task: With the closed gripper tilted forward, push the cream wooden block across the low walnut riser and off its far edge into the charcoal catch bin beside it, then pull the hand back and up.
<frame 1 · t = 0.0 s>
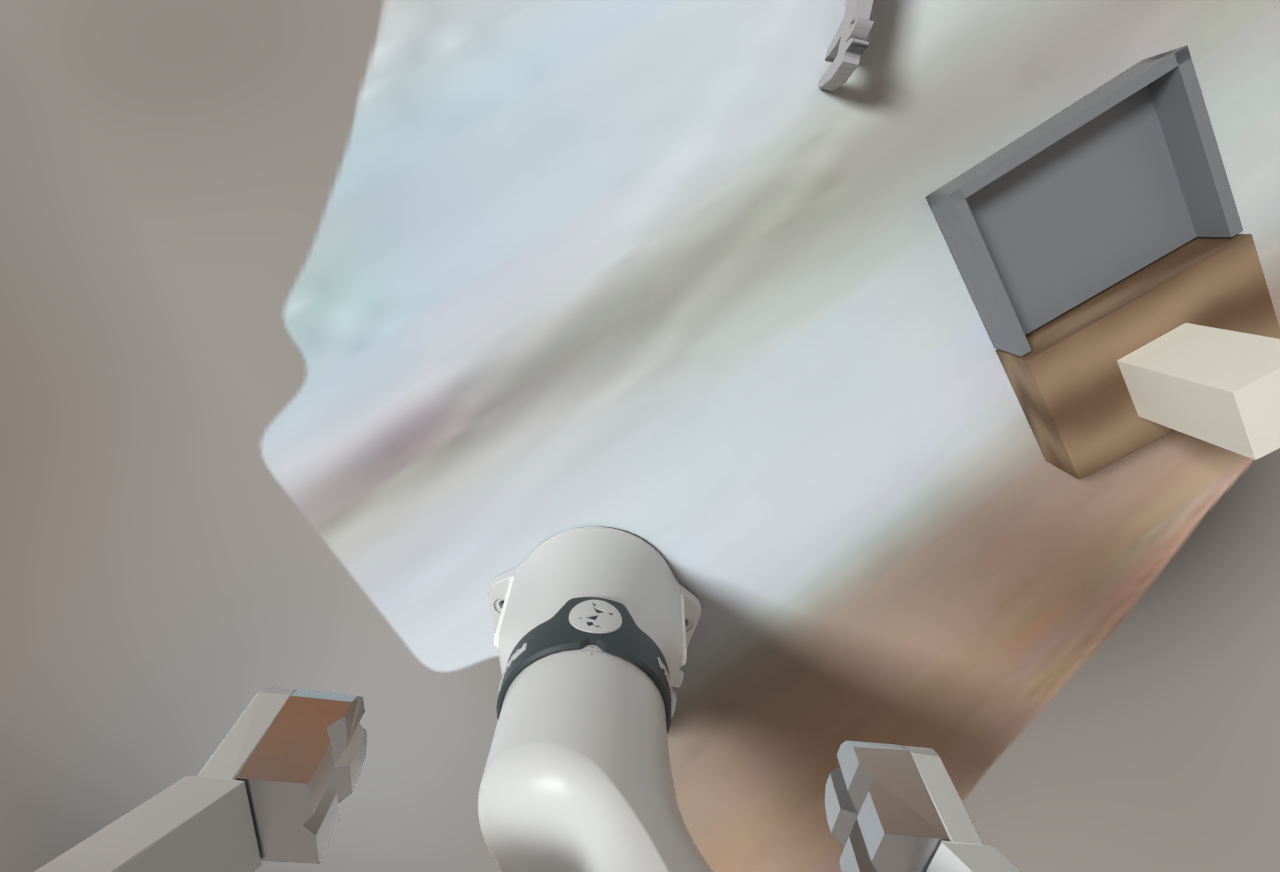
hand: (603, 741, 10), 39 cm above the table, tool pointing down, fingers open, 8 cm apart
block: (1161, 370, 44), point 4 cm above the table, touching riser
riser: (1118, 354, 48), on the table
catch bin: (1063, 213, 44), on the table
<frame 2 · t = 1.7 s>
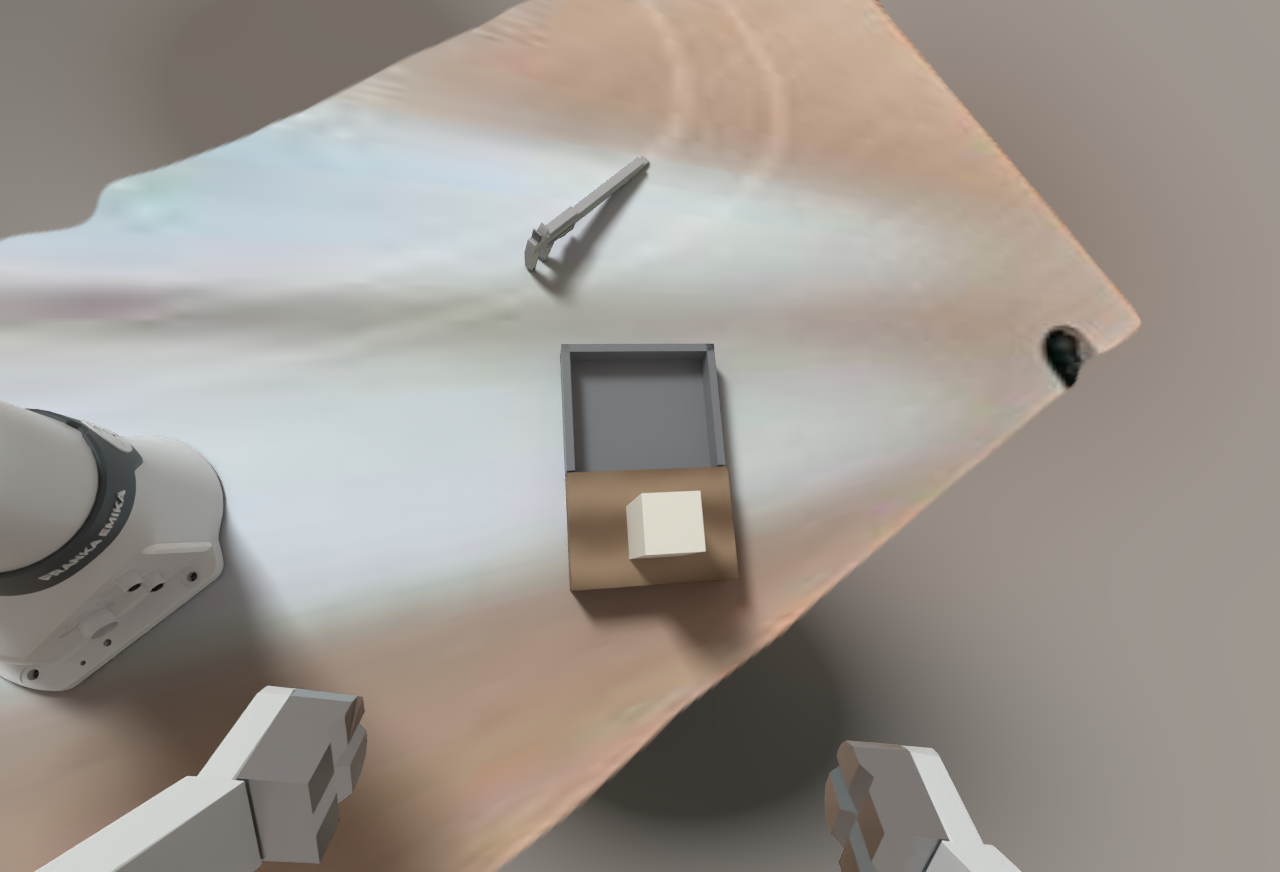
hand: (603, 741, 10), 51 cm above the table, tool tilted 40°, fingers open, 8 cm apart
block: (653, 531, 59), point 4 cm above the table, touching riser
riser: (646, 529, 62), on the table
caliper: (589, 215, 70), on the table
catch bin: (638, 413, 65), on the table
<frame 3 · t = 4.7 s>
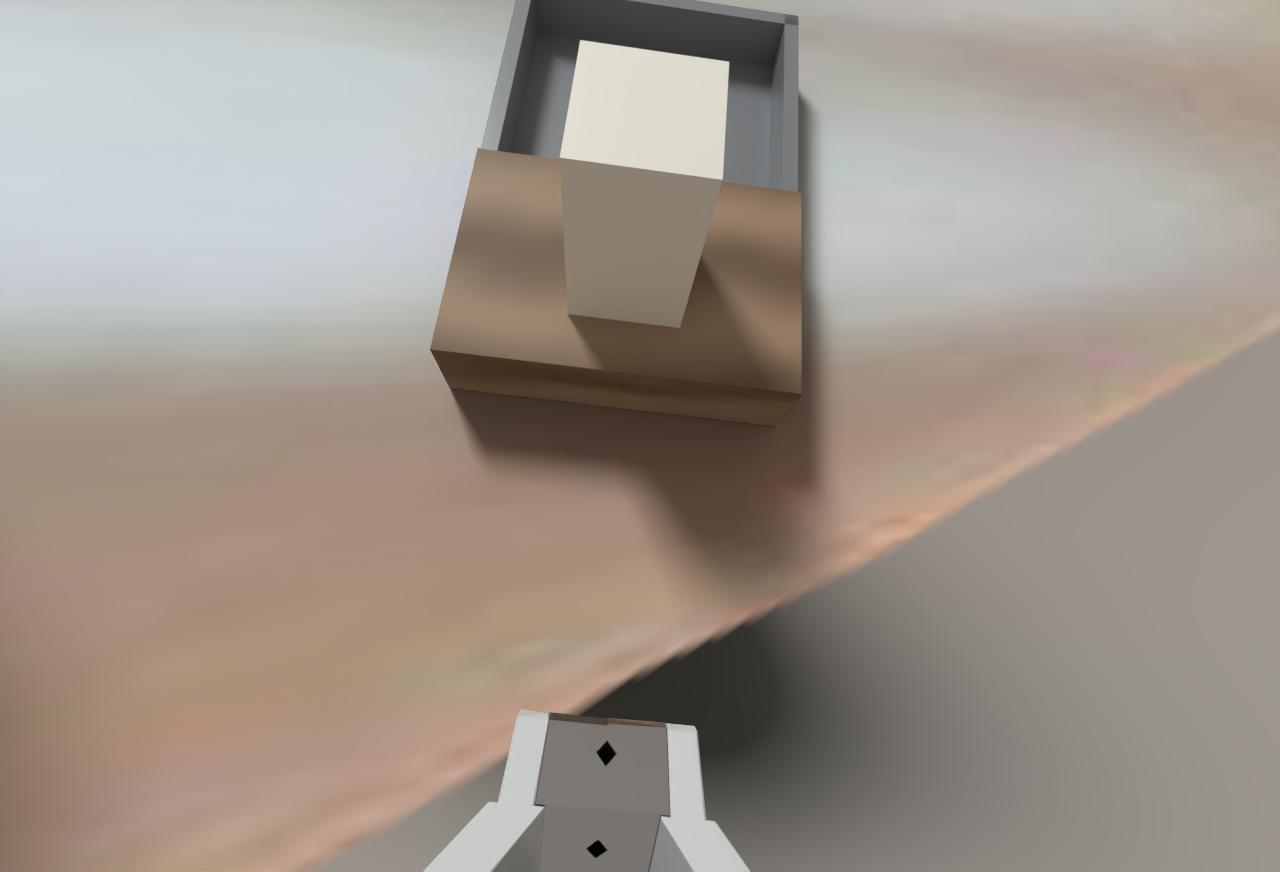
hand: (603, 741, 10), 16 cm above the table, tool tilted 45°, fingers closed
block: (629, 273, 28), point 4 cm above the table, touching riser
riser: (625, 310, 32), on the table
catch bin: (645, 131, 36), on the table
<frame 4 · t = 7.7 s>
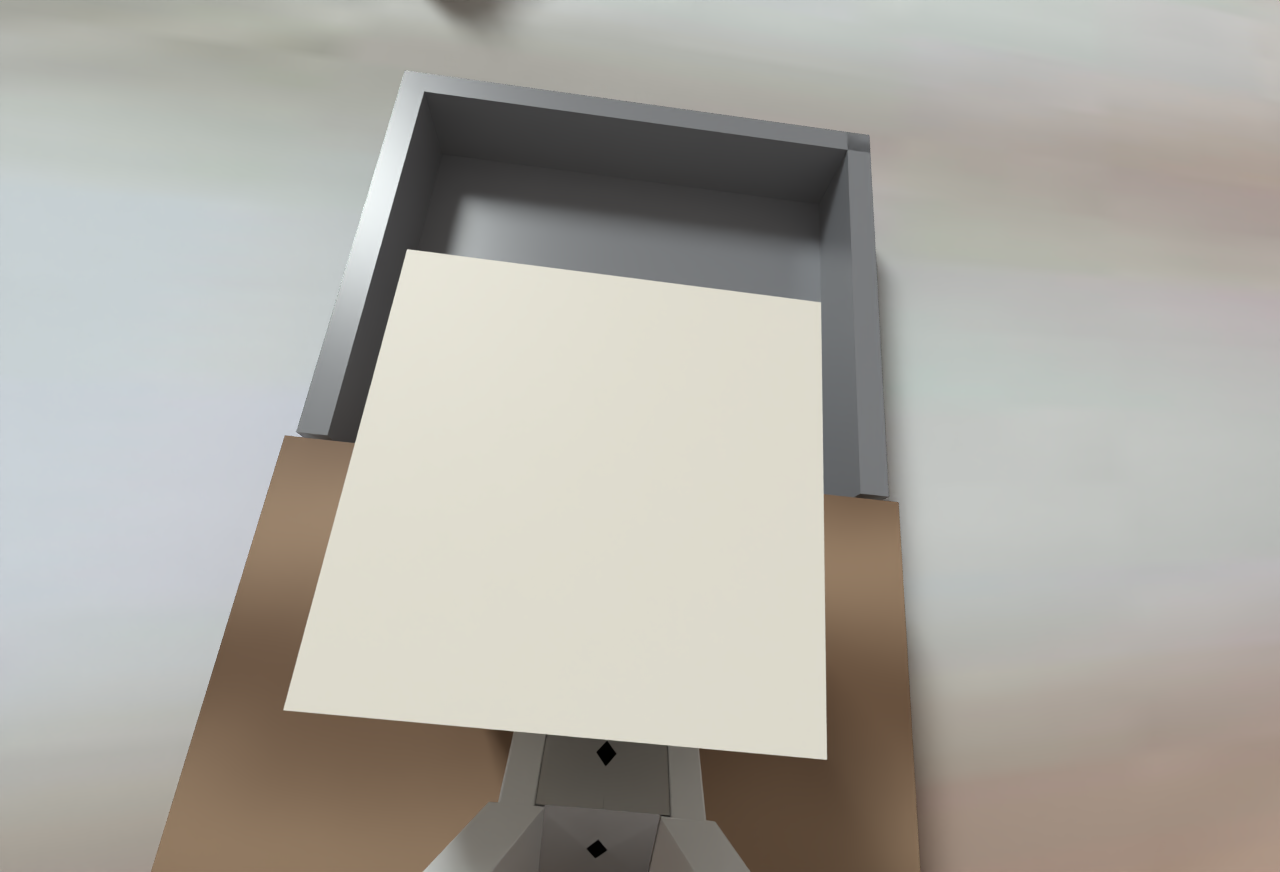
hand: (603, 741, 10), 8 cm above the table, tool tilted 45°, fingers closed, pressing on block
block: (588, 577, 15), point 4 cm above the table, touching gripper
riser: (575, 689, 18), on the table
catch bin: (617, 321, 22), on the table
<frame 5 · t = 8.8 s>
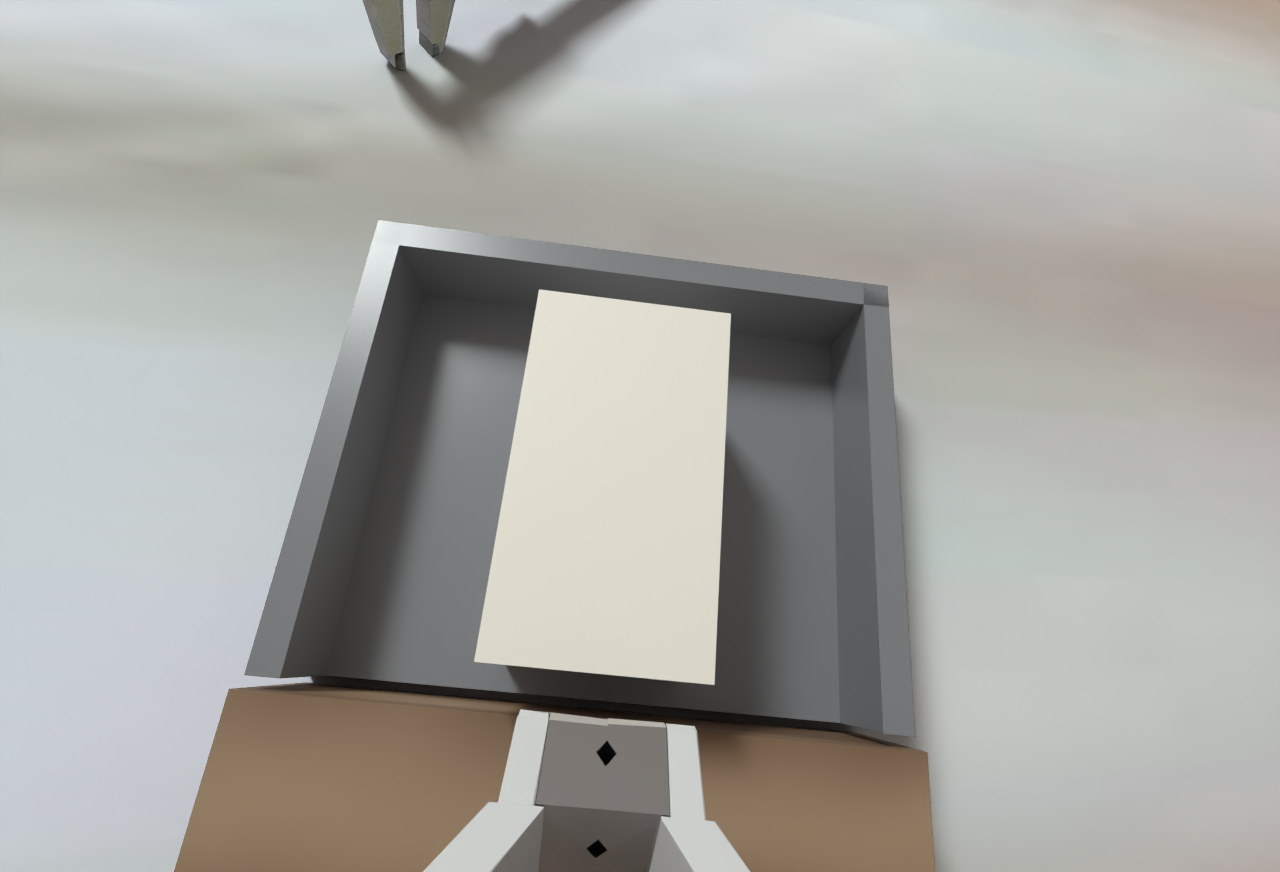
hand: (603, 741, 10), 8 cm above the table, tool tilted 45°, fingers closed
block: (593, 671, 15), point 3 cm above the table, tilted 90°, touching catch bin
catch bin: (611, 483, 20), on the table
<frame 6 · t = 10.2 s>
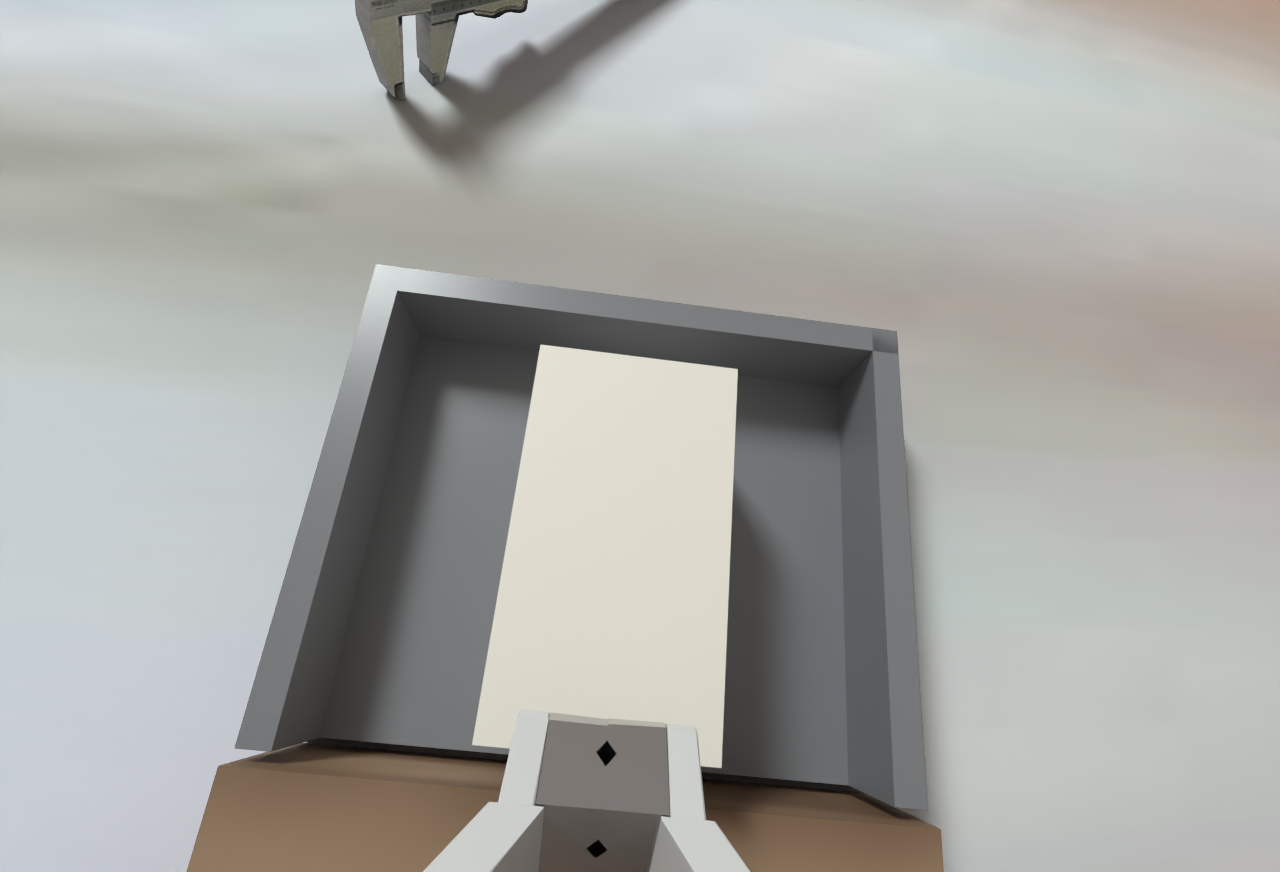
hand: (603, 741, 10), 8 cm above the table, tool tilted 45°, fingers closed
block: (595, 741, 15), point 3 cm above the table, tilted 90°, touching catch bin
caliper: (584, 12, 28), on the table
catch bin: (613, 531, 20), on the table
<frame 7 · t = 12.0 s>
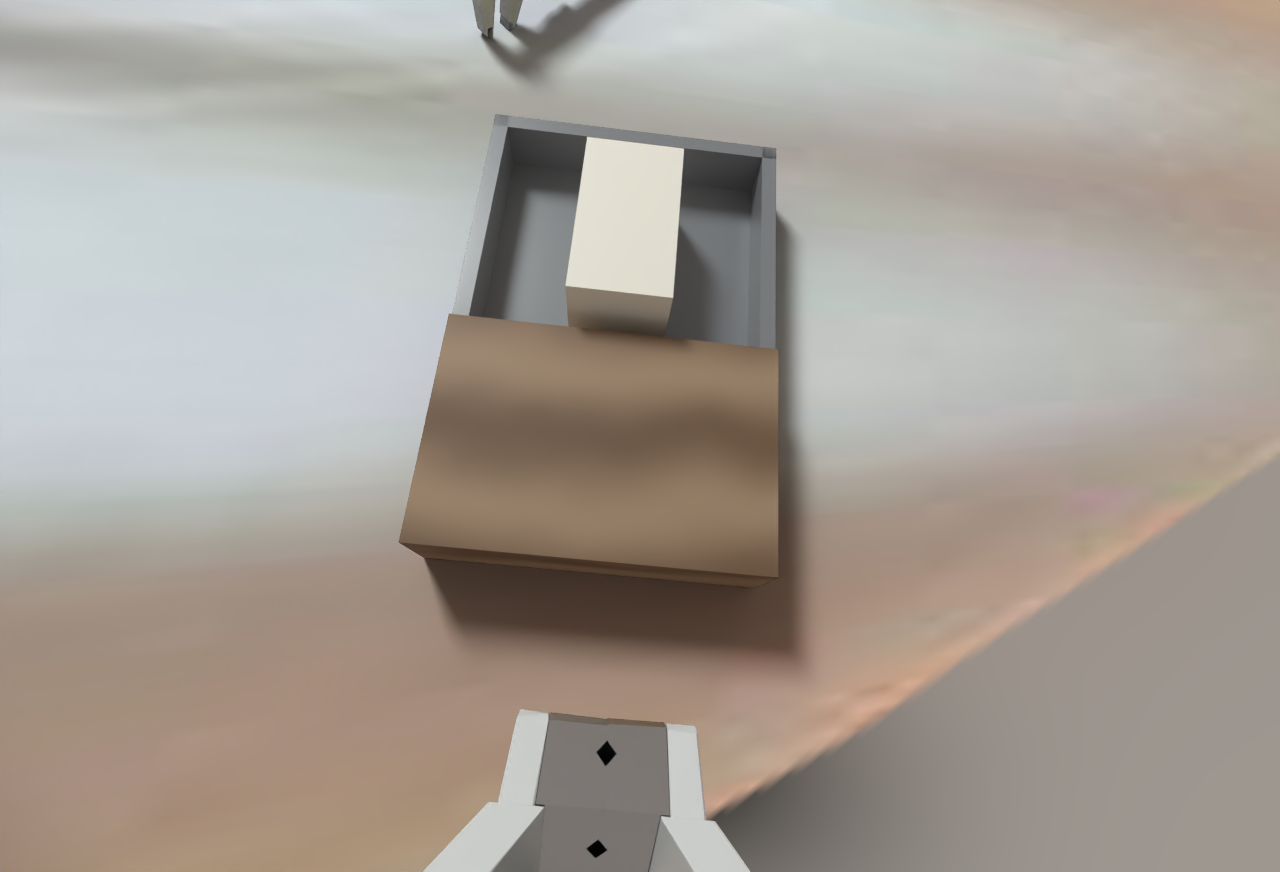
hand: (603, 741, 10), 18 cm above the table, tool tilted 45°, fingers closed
block: (617, 320, 31), point 3 cm above the table, tilted 90°, touching catch bin
riser: (602, 464, 31), on the table
catch bin: (623, 264, 36), on the table
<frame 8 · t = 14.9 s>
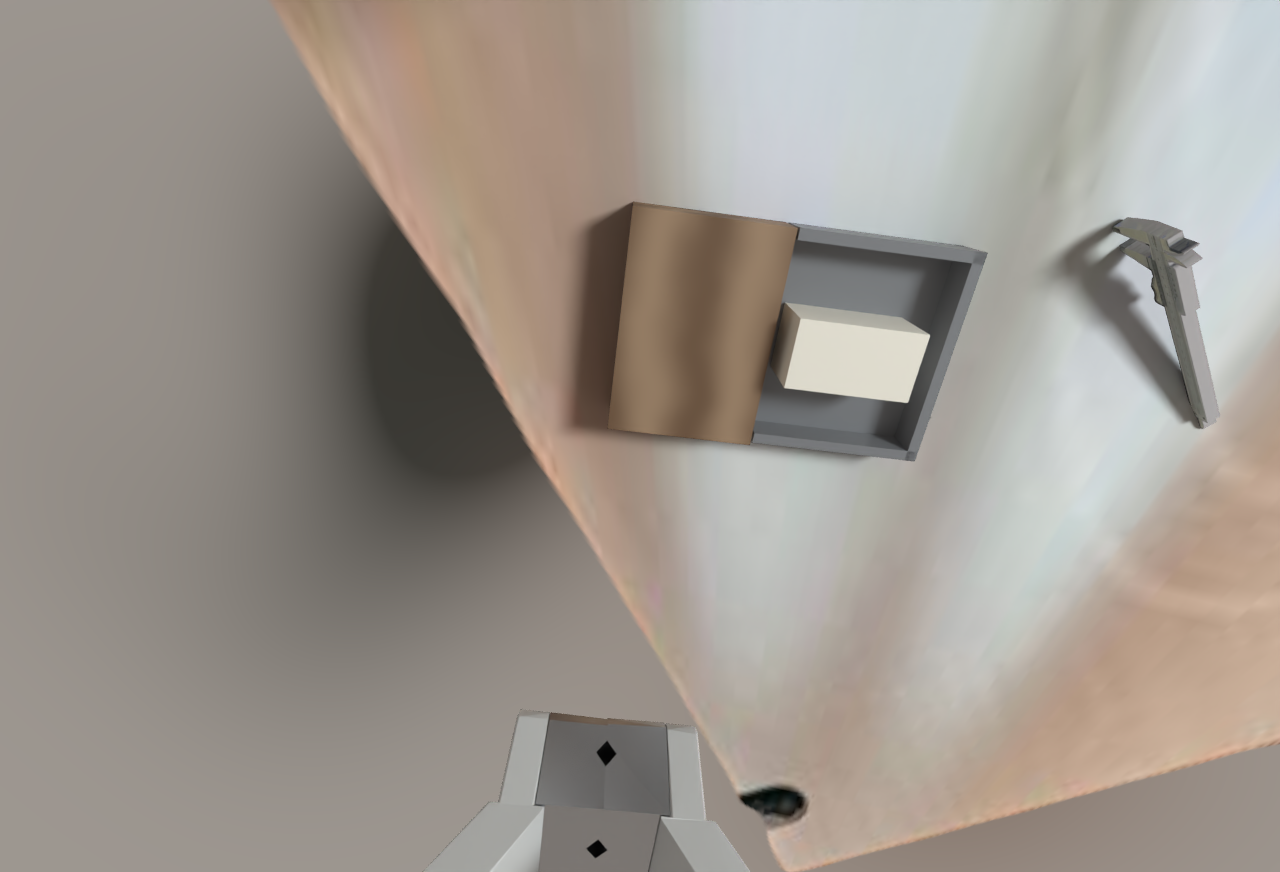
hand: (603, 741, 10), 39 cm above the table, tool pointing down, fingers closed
block: (784, 344, 44), point 3 cm above the table, tilted 90°, touching catch bin
riser: (691, 321, 47), on the table
caliper: (1160, 328, 48), on the table
catch bin: (847, 340, 48), on the table
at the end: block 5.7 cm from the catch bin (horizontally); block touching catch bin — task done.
